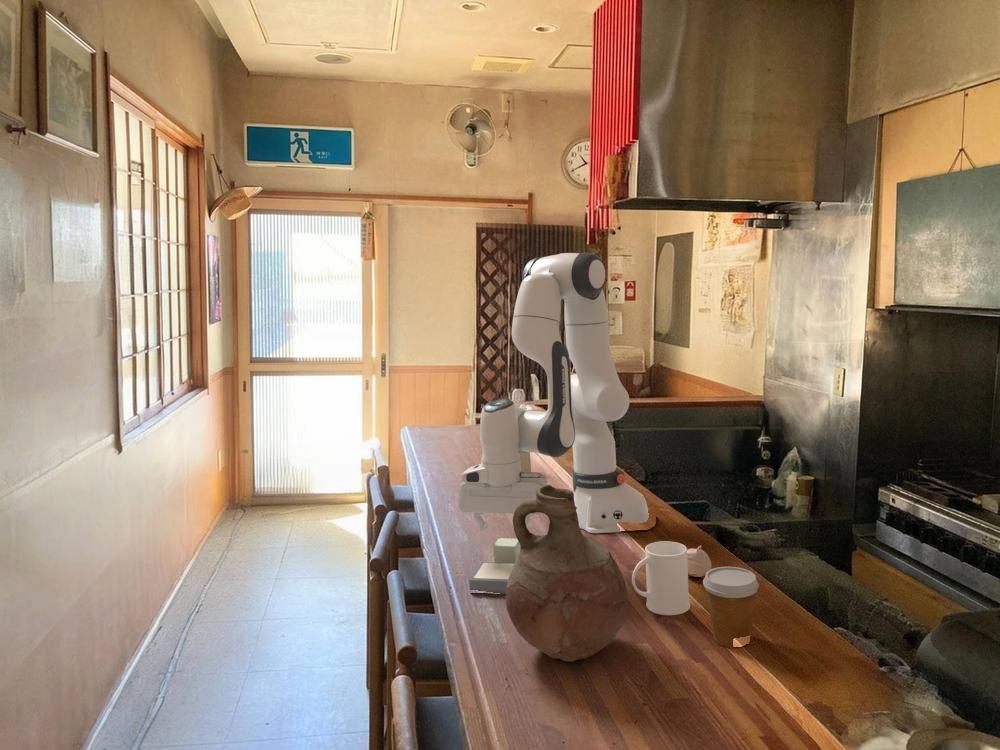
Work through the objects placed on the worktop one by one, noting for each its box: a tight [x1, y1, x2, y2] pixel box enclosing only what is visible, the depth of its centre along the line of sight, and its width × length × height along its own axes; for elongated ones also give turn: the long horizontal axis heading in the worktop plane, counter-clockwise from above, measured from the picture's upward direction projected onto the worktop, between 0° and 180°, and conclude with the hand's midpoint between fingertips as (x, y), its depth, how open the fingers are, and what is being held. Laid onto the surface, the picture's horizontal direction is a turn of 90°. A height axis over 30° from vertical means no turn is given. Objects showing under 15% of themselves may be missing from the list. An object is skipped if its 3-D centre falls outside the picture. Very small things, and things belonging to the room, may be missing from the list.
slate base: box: [468, 561, 515, 594], centre depth 171 cm, size 10×10×3 cm
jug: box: [505, 484, 629, 662], centre depth 138 cm, size 22×22×30 cm
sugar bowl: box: [519, 450, 532, 473], centre depth 254 cm, size 15×11×15 cm
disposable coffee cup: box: [702, 566, 760, 649], centre depth 139 cm, size 10×10×12 cm
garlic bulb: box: [687, 545, 712, 575], centre depth 168 cm, size 7×6×8 cm
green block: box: [493, 537, 520, 563], centre depth 180 cm, size 5×5×6 cm
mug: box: [631, 540, 691, 616], centre depth 154 cm, size 12×8×12 cm
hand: (504, 531), depth 179 cm, fingers open, 8 cm apart
